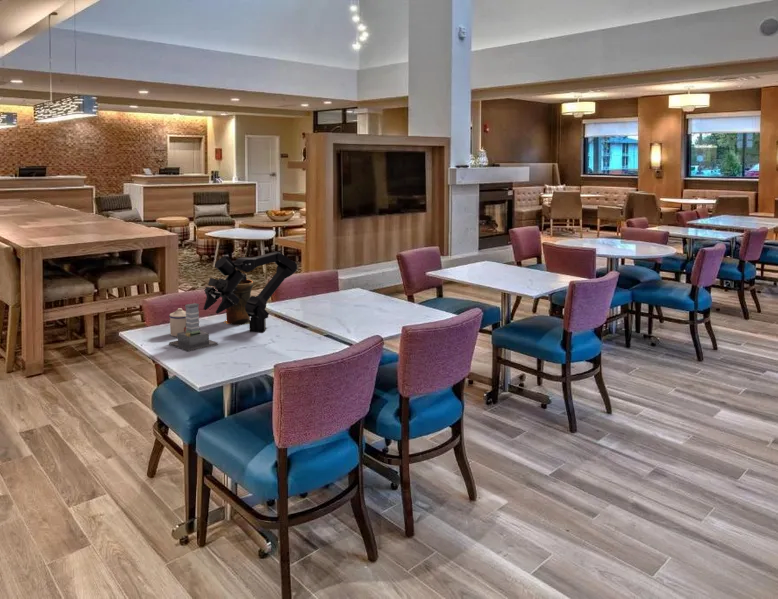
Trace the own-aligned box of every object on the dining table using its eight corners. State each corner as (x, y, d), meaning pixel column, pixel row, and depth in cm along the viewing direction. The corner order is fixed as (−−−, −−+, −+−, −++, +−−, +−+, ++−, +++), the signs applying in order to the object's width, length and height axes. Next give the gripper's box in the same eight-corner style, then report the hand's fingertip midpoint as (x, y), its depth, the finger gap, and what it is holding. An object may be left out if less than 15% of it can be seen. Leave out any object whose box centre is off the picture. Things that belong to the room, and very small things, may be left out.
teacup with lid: (188, 337, 273) (187, 311, 270) (167, 336, 272) (165, 310, 270) (196, 330, 284) (195, 305, 282) (176, 329, 284) (174, 304, 282)
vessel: (245, 316, 312) (245, 276, 307) (259, 323, 301) (258, 282, 296) (218, 320, 303) (217, 279, 298) (230, 327, 292) (230, 285, 287)
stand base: (198, 338, 271) (198, 324, 270) (217, 344, 262) (217, 331, 261) (169, 344, 261) (168, 330, 259) (187, 351, 252) (187, 337, 251)
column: (195, 330, 263) (194, 302, 261) (200, 332, 261) (199, 304, 258) (185, 332, 260) (184, 304, 257) (190, 334, 257) (189, 306, 255)
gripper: (207, 268, 272) (185, 297, 266) (232, 273, 260) (210, 303, 254) (223, 283, 279) (202, 311, 273) (248, 289, 267) (227, 319, 261)
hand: (210, 311), depth 265 cm, fingers open, 9 cm apart
